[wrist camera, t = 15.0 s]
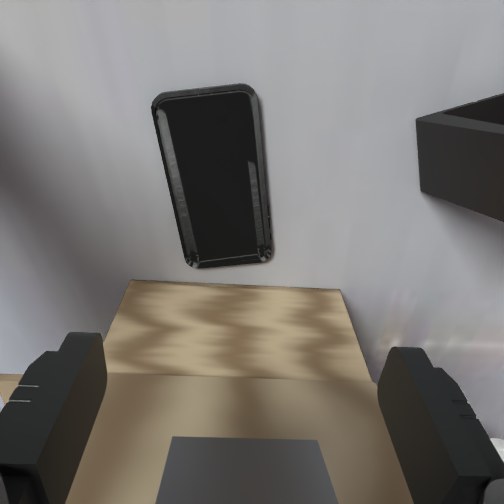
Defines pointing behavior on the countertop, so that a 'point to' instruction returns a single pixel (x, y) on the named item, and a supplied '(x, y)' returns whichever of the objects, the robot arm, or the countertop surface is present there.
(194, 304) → the carton
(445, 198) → the phone stand
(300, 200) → the countertop surface
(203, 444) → the lid flap
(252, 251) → the phone
